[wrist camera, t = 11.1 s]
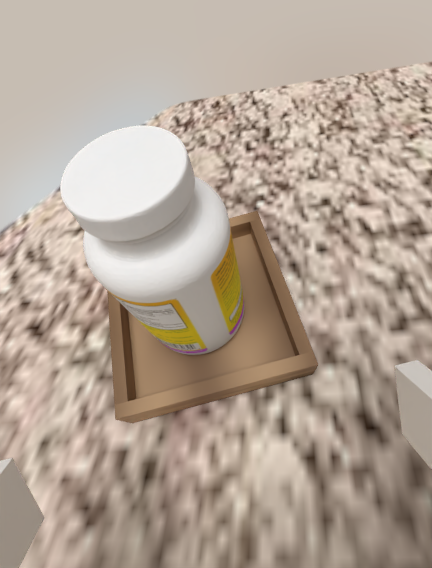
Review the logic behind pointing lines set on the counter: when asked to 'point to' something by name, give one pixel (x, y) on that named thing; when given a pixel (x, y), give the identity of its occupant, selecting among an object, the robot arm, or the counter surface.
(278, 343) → the walnut tray
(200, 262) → the supplement bottle
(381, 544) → the counter surface
